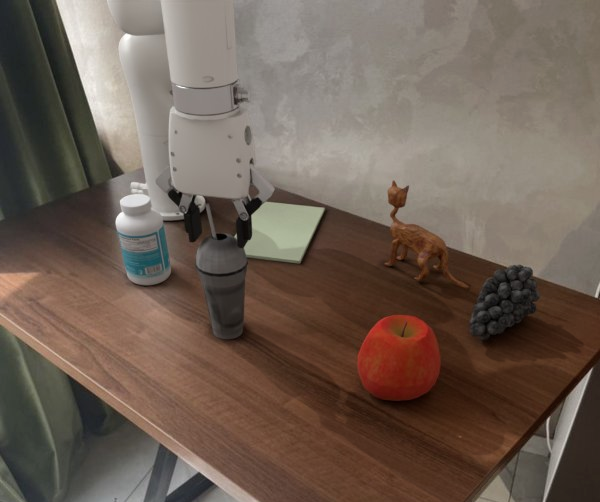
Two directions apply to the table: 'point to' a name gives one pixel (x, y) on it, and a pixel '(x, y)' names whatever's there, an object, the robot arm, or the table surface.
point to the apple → (399, 359)
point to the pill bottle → (143, 241)
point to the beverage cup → (223, 281)
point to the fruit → (504, 301)
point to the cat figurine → (416, 239)
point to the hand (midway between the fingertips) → (219, 239)
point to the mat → (282, 231)
